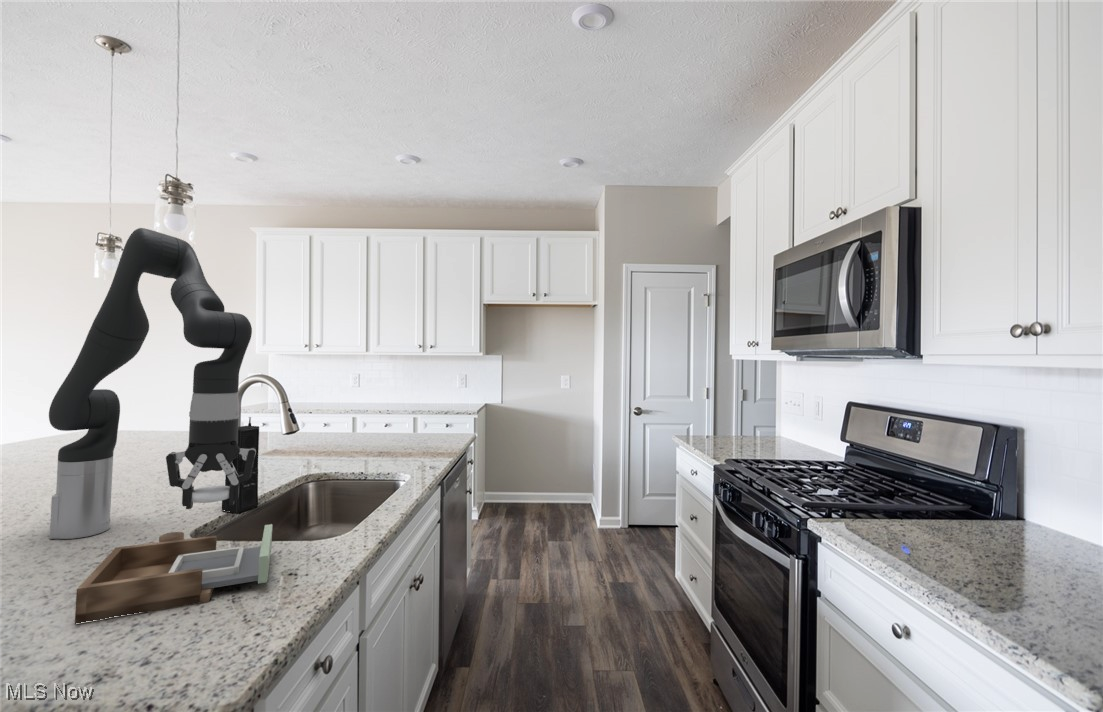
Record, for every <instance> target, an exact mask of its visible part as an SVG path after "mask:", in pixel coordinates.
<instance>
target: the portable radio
mask: <svg viewBox="0 0 1103 712" xmlns="http://www.w3.org/2000/svg"><path fill="white" fill-rule="evenodd" d="M248 418H249V421H248V423H247V424H248V425H242V426H238V445H239V447H240V448H242V449H251V448H255V449H256V454H255V458H254V463H253V468H252V472H251V476H250V479H249V480H248V481H244V482H241V483H240V484H239V498H238V500H237V501H235V502H234V505H229V498H228V499H225V500H222V501H221V511H222V510H225V511H230V512H232V513H233V514H240V513H244V512H245V511H248V510H251V509H254V508H257V507H258V505H259V450H260V449H259V447H260V446H259V445H260V426H257V425H252V423H251V419H252V417H251V416H248ZM232 463H233V465H234V467H235V470H236V472H237V474H238V476H239V475H242V474H243V473H244V469H245V464H246V460H243V459H242V455H241V454H238V455H237V457H236V458H235V459H234V460H233V461H232ZM224 475H225V476H224V477H225V478H224V479H225V480H224V486H229V487H230V485H231V482H230V480H229V479H228V477H227V476H226V474H225V473H224ZM230 512H229V513H230ZM232 513H231V514H232Z"/></svg>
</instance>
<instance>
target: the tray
mask: <svg viewBox="0 0 1103 712" xmlns="http://www.w3.org/2000/svg"><path fill="white" fill-rule="evenodd" d="M272 542H273V524H272V523H270V524H264V529H263V534H262V539H261V544H260V546H255V547H248V548H246V547H245V546H237V547H229V548H222V549H216V550H213V551H205V552H197V553H190V554H182V555H178V557H177V558H176V560H175V562H174V563H173V565H172V567H171V569H170V570H169V572H168V573H172V572H179V571H186V570H193V569H200V568H203V571H202V590H203V589H209V588H214V589H215V588H221V587H225V586H226V587H227V586H232V585H239V584H240V585H241V584H245V583H251V582H257V584H264V583H268V576H269V570H270V560H271V552H272Z"/></svg>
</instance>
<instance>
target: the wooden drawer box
mask: <svg viewBox="0 0 1103 712" xmlns="http://www.w3.org/2000/svg"><path fill="white" fill-rule="evenodd" d="M217 536H218V535H209V536H200V537H193V538H184V539H183V540H174V541H166V542H159V541H158V542H157V541H156V542H151V543H150V542H149V543H144V544H143V543H142V544H134V545H125V546H115V548H114V549H113V550H112V551H111V552H110V553H109V554H108V555H107V556H106V557H105V558H104V559H103V561H101V562H100V563H99V564H98V566H97V567H96V568H95V569H94V570H93V571H91V573H90V575H88V576H87V577H86V578H85V580H84V581H83V582H82V583H81V584H80V585H79V586H78V587H77V588H76V593H75V594H76V597H75V613H74V615H75V616H74V625H75V624H76V623H81V622H86V621H93V620H100V619H105V618H109V617H114V616H121V615H127V614H134V613H139V612H146V613H149V612H148V611H152V612H157V611H156V610H158V611H163V610H168V609H173V608H174V607H175V608H180V607H185V606H192V605H198V604H202V603H203V604H204V603H208V602H210V600H211V597H212V595H213V592H214V589H215V588H209V589H203V590H202V571H203V568H200V569H193V570H186V571H179V572H172V573H168V572H169V570H170V569H171V567H172V565H173V563H174V562H175V560H176V558H177V557H178V555H182V554H190V553H197V552H205V551H213V550H217V539H218V537H217ZM100 621H101V620H100Z"/></svg>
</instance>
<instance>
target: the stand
mask: <svg viewBox="0 0 1103 712" xmlns="http://www.w3.org/2000/svg"><path fill="white" fill-rule="evenodd" d="M183 539H185V533H184V532H183V531H173V532H169V533H168V532H167V533H164V534H162V535H159V537H158V542H166V541H174V540H183Z"/></svg>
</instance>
